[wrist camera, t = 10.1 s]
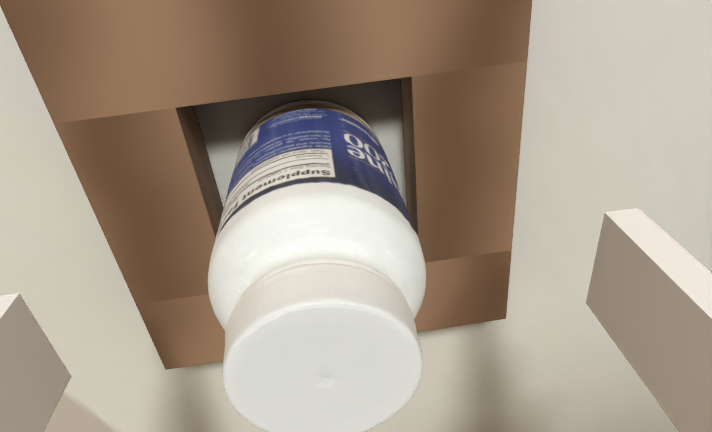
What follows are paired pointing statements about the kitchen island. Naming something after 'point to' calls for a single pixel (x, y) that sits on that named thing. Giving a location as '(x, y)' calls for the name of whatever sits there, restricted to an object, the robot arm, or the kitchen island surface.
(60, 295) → the kitchen island surface
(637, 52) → the kitchen island surface
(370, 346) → the pill bottle
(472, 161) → the holder block
